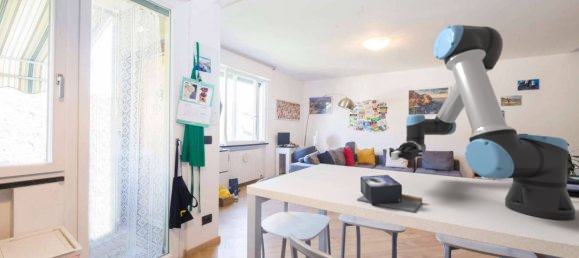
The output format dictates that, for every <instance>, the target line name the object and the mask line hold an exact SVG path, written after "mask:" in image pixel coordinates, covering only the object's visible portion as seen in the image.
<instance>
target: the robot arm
mask: <svg viewBox="0 0 579 258" xmlns="http://www.w3.org/2000/svg"><path fill="white" fill-rule="evenodd" d="M503 40H504V39H503V37H502V35H501V34H500V32H499V31H498V30H497V29H495V28H493V27H491V26H478V25H467V24H466V25H462V24H451V25H447V26H445V28H443V29H442V30H441V31H440V32H439V34H438V35H437V36H436V38H435V41H434V43H433V49H432V52H433V56H434V58H435V59H437V60H440V61H443V62H444V64H445V68H446V69H447V70H449V71H452V73H453V76H454V79H455V83H454V85H453V87H452V89H451V90H450V92H449V94H448V95H447V97H446V98H445V100H444V102H443V104H442V106H441V107H440V109H439V111H438V113H437V114H436V116H435V118H426V115H424V114H409V115H407V117H406V122H405V125H406V139H405V142H403V143H401V144H400V145H399V146H398V148H393V147H389V148H388V149H389V151H388V153H389V157H390V160H391V161H397V160H400V159H403V160H406V161H411V160H412V161H413V160H414V159H416V158H417V157H420V158H422V157H423V155H424V154H425V152H426V149H427V145H426V144H425V136H448V135H452V134H454V133H455V132H456V130H457V123H456V120H457V118H458V117H459V116H460V113H462V111H463V109H464V110H465V113H466V116H467V118H468V122H469V125H470V129H471V131H472V133H471V135H470V136H469V138H468V140H469V143H468V144H467V145H466V147H465V151H464V158H465V162H466V163H467V166H468V167H469V168H470V170H471V171H472V172H473V173H475V174H477V175H478V176H479V177H482V178H485V179H495V180H505V179H512V183H511V185H510V187H509V190H508V192H507V194H506V196H505V198H504V206H505V207H506V208H508V209H510V210H512V211H515V212H518V213H521V214H525V215H528V216H532V217H538V218H543V219H551V220H558V221H559V220H560V221H561V220H564V221H566V220H567V221H569V220H574V219H575V218H576V209H575V208H576V207H575V206H574V203H573V201H572V198H571V197H570V194H569V192H568V190H567V189H568V187H567V185H568V162H569V161H568V160H569V157H568V156H569V153H570V151H569V149H568V145H569V144H568V141H567V140H566V139H564V138H561V137H555V136H550V135H549V136H547V135H536V134H535V135H534V134H523V133H522V134H520V133H519V134H518V132H517V130H516V128H514V127H512V126H509V125H507V122H506V119H505V116H504V115H503V111H502V109H501V106H500V104H499V102H498V99H497V96H496V93H495V90H494V88H493V85H492V83H491V80H490V78H489V74H488V72H489V71H492V70H493V69H494V67H495V66H496V65H497V63H498V61H499V60H500V58H501V55H502V52H503V47H504V45H503V44H504V41H503Z"/></svg>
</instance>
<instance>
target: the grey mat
mask: <svg viewBox="0 0 579 258" xmlns="http://www.w3.org/2000/svg"><path fill="white" fill-rule="evenodd" d="M356 201H358V202H363V203H367V204H371V203H370V202H369V201H368V199H367V198H366V197H365V196H364V195H363V194H362V196H360V197H358V198H357V199H356ZM422 204H423V197H422V196H414V195H409V194H403V193H402V202H396V203H382V204H374V205H376V206H380V207H386V208H390V209H394V210H395V209H396V210H399V211H404V212H409V213H411V214H412V213H415V212H416V211H417V209H419V207H420V206H421V205H422Z"/></svg>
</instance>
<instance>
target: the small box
mask: <svg viewBox="0 0 579 258" xmlns="http://www.w3.org/2000/svg"><path fill="white" fill-rule="evenodd" d="M360 193H361V194H362V196H363V195H364V196H365V197H366V198H367V199H368V201H369V202H370V203H369V204H370V205H375V204H382V203H396V202H402V194H403V185H402V184H401V183H400V182H398V181H397V180H395V179H394V178H393V177H391V176H390V175H389V174H382V175H369V176H368V175H365V176H364V175H363V176H360Z"/></svg>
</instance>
